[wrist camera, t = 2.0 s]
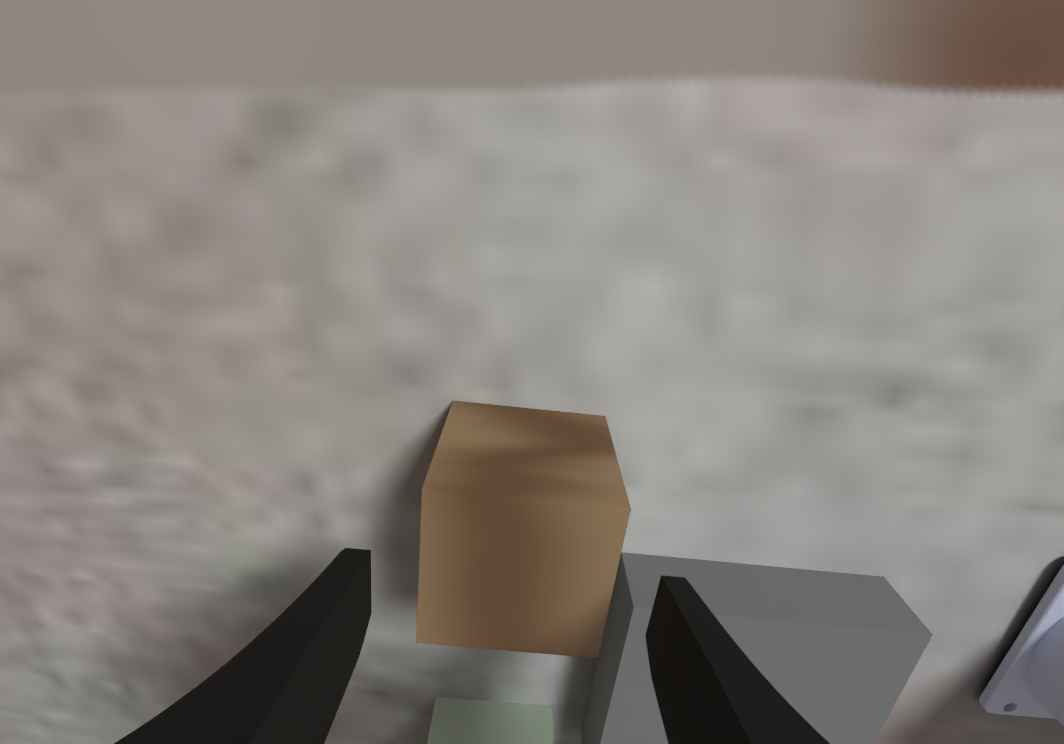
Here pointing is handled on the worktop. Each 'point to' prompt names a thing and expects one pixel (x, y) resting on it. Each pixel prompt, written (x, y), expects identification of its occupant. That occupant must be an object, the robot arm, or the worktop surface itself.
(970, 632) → the worktop surface
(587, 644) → the walnut cube
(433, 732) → the sage block
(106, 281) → the worktop surface
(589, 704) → the charcoal slab
